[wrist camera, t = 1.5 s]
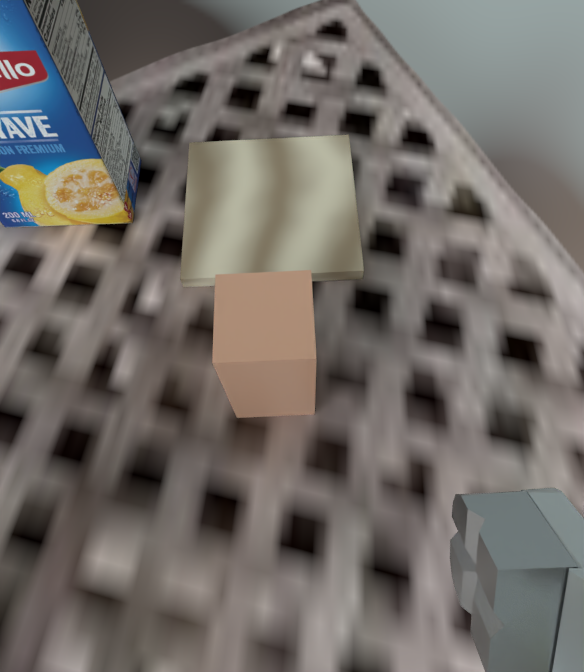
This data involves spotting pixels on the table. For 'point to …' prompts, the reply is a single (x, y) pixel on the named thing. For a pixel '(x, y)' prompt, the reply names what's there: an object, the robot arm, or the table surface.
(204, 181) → the placemat
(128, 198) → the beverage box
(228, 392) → the terracotta block
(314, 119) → the table surface
